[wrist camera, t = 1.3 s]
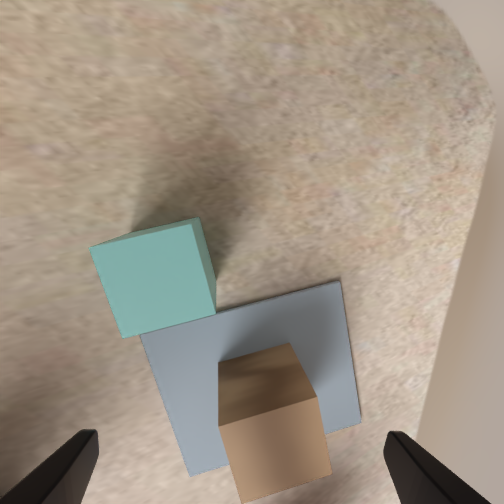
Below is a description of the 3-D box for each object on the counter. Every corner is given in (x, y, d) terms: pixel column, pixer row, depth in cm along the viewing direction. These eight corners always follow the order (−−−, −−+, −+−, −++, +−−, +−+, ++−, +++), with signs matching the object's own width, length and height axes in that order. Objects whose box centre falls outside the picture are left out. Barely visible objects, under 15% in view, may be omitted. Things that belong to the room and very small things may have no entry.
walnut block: (235, 423, 22) (241, 503, 16) (217, 362, 21) (218, 426, 15) (302, 402, 22) (332, 474, 16) (289, 342, 21) (317, 396, 15)
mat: (190, 472, 23) (189, 477, 22) (141, 332, 20) (139, 335, 19) (359, 419, 24) (361, 422, 24) (337, 280, 21) (340, 281, 21)
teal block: (151, 297, 19) (122, 338, 13) (129, 232, 18) (88, 247, 12) (216, 280, 20) (215, 314, 14) (199, 216, 19) (191, 223, 13)
